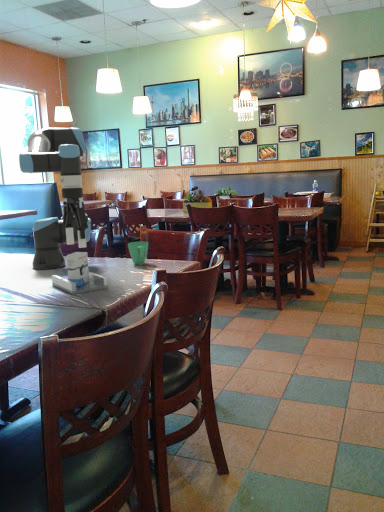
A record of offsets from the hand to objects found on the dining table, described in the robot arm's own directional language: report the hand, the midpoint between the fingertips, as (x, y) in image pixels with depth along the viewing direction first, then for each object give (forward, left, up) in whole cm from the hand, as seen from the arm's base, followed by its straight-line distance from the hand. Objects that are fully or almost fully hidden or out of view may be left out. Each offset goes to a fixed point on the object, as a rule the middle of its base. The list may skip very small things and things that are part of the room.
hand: (76, 245), depth 169 cm
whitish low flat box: (0, 0, -16) cm, 16 cm away
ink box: (0, 0, -15) cm, 15 cm away
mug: (-22, +40, -16) cm, 48 cm away
